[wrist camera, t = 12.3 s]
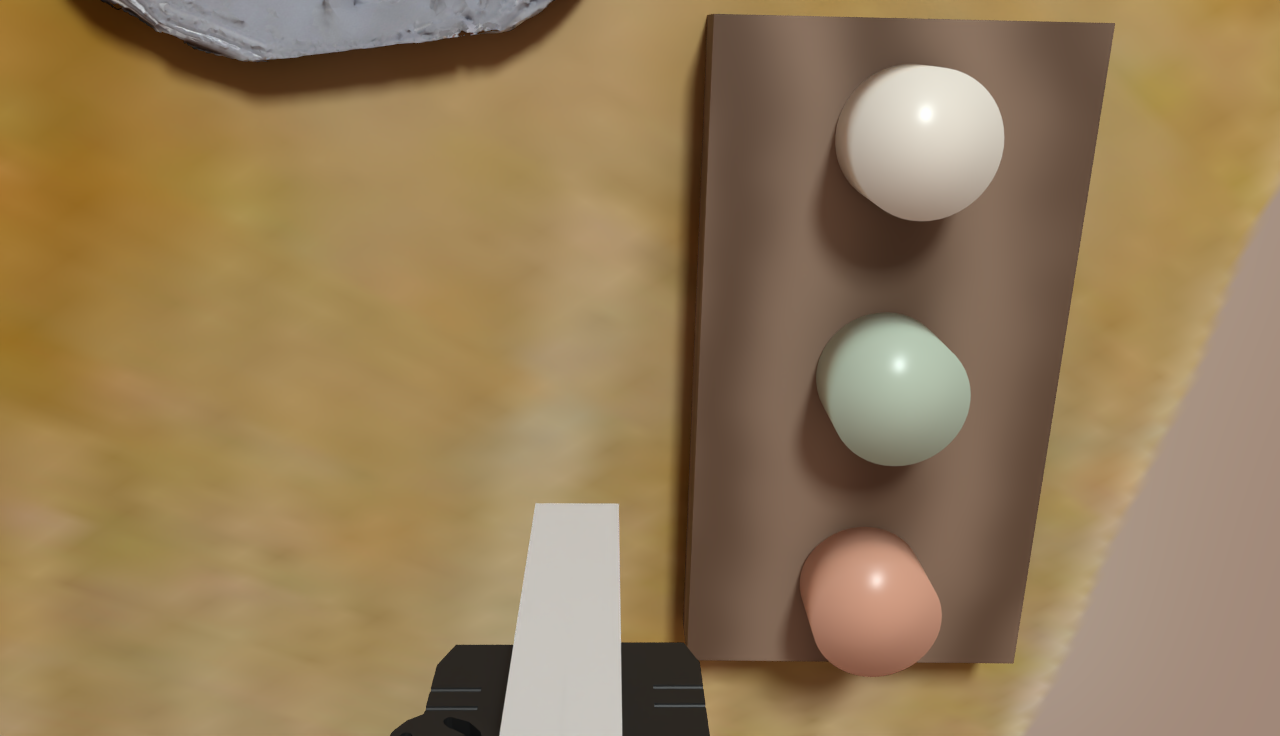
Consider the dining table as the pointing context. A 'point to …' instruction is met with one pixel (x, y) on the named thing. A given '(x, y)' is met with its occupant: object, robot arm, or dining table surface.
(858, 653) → the terracotta button
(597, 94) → the dining table surface
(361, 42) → the food plate
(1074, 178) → the button board
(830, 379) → the sage button
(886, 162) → the cream button
